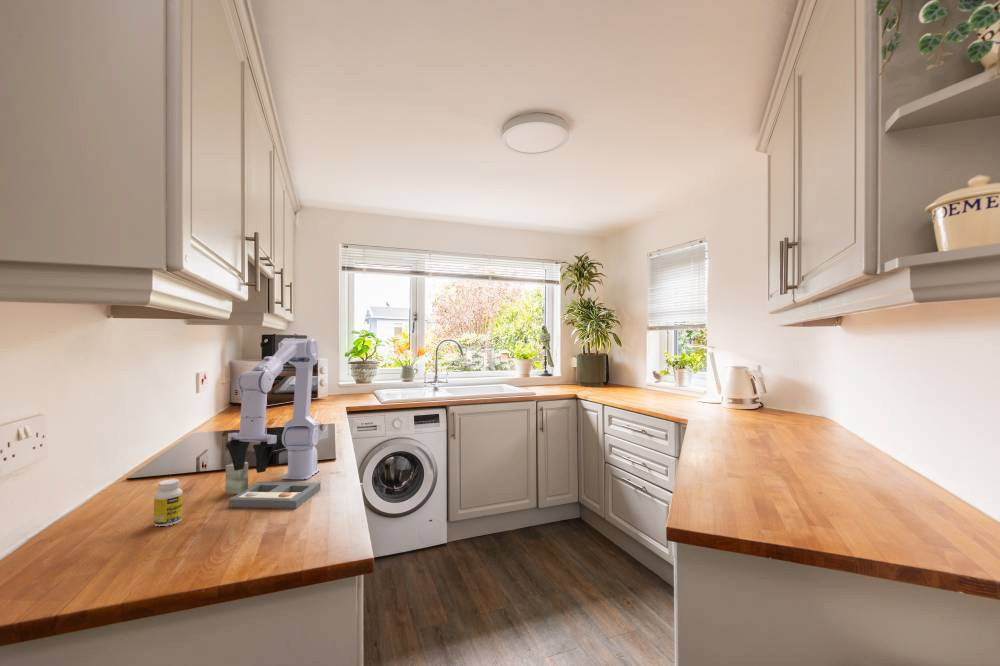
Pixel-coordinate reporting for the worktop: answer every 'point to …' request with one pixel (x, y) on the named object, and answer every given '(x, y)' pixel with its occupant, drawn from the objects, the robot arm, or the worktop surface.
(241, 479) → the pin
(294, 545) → the worktop surface
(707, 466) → the worktop surface
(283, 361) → the robot arm
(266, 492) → the board
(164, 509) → the supplement bottle
